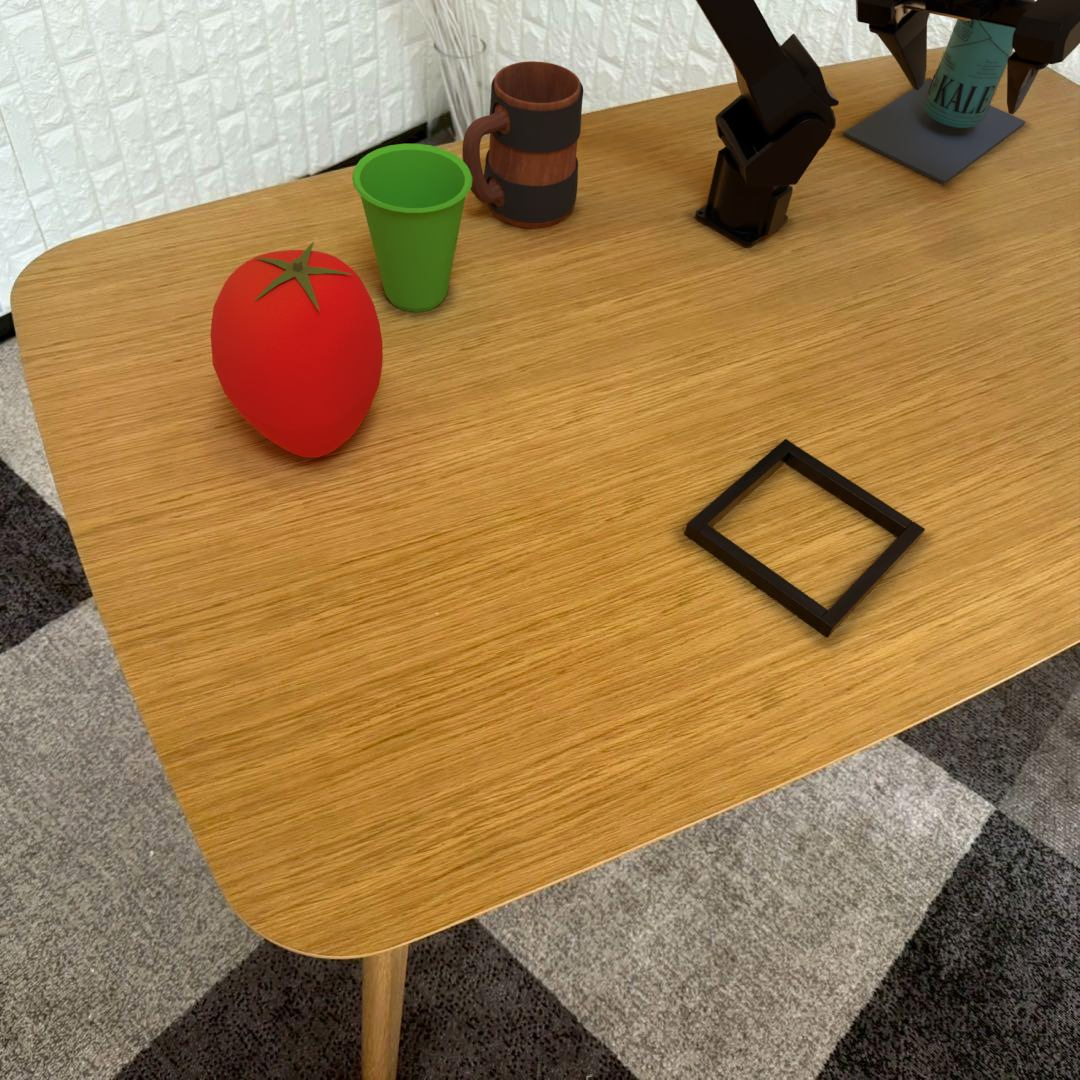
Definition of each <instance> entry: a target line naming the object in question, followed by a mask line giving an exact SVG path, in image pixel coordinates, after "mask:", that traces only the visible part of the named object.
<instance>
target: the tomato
mask: <svg viewBox="0 0 1080 1080" xmlns="http://www.w3.org/2000/svg"><path fill="white" fill-rule="evenodd" d="M314 244H315V241H313V242H312V243H311V244H309V246H307V248H306V249H287V250H286V249H285V250H277V251H270V252H266V253H262V254H258V255H257V256H253V258H251V259H249V260H247V261H245V262H243V263H242V264H241V265H239V266H238V267H237V268H236V269H234V271H233V272H232V273H231V274H230V275H229V276H228V278H227V279H226V280H225V281H224V283H223V286H222V287H221V289H220V292H219V293H218V296H217V298H216V300H215V302H214V305H213V308H212V316H211V323H210V333H209V334H210V335H209V336H210V346H211V347H210V349H211V359H212V367H213V369H214V372H215V374H216V377H217V379H218V381H219V384H220V386H221V388H222V391H223V393H224V395H225V396H226V398H227V399H228V400H229V401H230V403H231V404H232V405H233V407H234V408H235V410H236V411H237V412H238V413H239V414H240V415H241V416H242V418H243V419H244V420H245V421H246V422H248V424H250V425H251V426H252V427H253V428H254V429H255V430H257V432H259V433H260V434H261V435H262V436H263V437H264V438H266V439H267V440H269V441H271V442H272V443H273V444H275V445H277V446H278V447H280V448H281V449H283V450H285V451H286V452H288V453H291V454H293V455H295V456H299V457H303V458H319V457H323V456H326V455H329V454H330V453H332V452H334V451H335V450H336V449H338V448H339V447H341V446H342V445H343V444H345V443H346V442H347V441H348V440H349V439H350V438H351V437H352V436H353V435H354V434H355V433H356V431H357V430H358V429H359V428H360V426H361V424H362V423H363V421H364V418H365V417H366V416H367V414H368V412H369V411H370V409H371V406H372V404H373V402H374V399H375V397H376V394H377V392H378V390H379V386H380V382H381V377H382V372H383V362H384V361H383V359H384V358H383V357H384V356H383V355H384V354H383V347H384V346H383V337H382V329H381V323H380V321H379V317H378V313H377V310H376V307H375V304H374V301H373V298H372V297H371V295H370V293H369V291H368V289H367V288H366V286H365V284H364V282H363V280H362V278H361V277H360V275H359V274H358V273H357V272H356V271H355V270H354V269H353V268H352V266H351V267H350V266H349V265H348V264H347V263H345V262H344V261H343V260H342V259H340V258H339V257H337V256H335V255H333V254H330V253H327V252H323V251H318V250H312V249H313V247H314Z"/></svg>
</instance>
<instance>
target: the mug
mask: <svg viewBox="0 0 1080 1080" xmlns="http://www.w3.org/2000/svg"><path fill="white" fill-rule="evenodd" d="M490 88H491V89H490V106H489V114H488V115H484V116H481V117H478V118H476V119H475V120H474V121H472V122H471V123H470V124H469V126H468V127H467V128H466V130H465V133H464V136H463V140H462V160H463V161H464V163H465V164H466V165H467V166H468V168H469V170H470V172H471V175H472V187H471V188H470V191H471V192H472V194H473V195H474V197H475V198H476V199H477V200H478V201H480V202H483V203H485V204H487V206H488V208H489V209H490V211H491V212H492V213H493V215H494V216H495V217H496V218H498V219H499V220H501V221H503V222H505V223H507V224H509V225H512V226H516V227H519V228H527V229H538V228H546V227H550V226H553V225H555V224H558V223H560V222H561V221H563V220H564V219H565V218H566V217H567V216H568V215H569V213H571V211H573V209H574V208H575V205H576V202H577V194H578V186H579V185H578V184H579V161H578V157H577V151H578V141H579V138H580V136H581V132H582V131H581V130H582V112H583V99H584V85H583V84H582V82H581V80H580V78H579V77H578V75H576V74H575V73H574V72H573V71H572V70H570V69H568V68H566V67H564V66H562V65H560V64H559V65H558V64H555V63H553V62H547V61H536V60H532V61H531V60H530V61H528V60H527V61H521V62H515V63H511V64H509V65H506V66H504V67H503V68H501V69H499V70H498V72H497V73H496V74H495V76H494V78H492V81H491V85H490ZM488 134H489V146H488V150H487V152H486V154H485V161H484V171H483V166H482V162H481V141H482V139H483V137H484V136H486V135H488Z"/></svg>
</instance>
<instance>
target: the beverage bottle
mask: <svg viewBox="0 0 1080 1080" xmlns="http://www.w3.org/2000/svg"><path fill="white" fill-rule="evenodd" d="M1032 1H1036V0H1032ZM953 24H954V26H953V28H952V31H951V33H950V36H949V40H948V42H947V45H946V47H945V49H944V50H943V52H942V55H941V60H940V61H939V63H938V64H937V68H936V70H935V72H934V74H933V77H932V82H933V83H931V85H930V87H929V88H930V89H928V91H929V92H927V93H928V94H927V95H928V96H927V95H926V97H927V99H926V102H925V111H926V113H927V114H928V115H929V116H930V117H931V118H932V119H934V120H936V121H937V122H939V123H942V124H945V125H948V126H952V127H958V128H968V127H973V126H976V125H977V124H979V122H980V121H981V120H982V119H983V117H984V115H985V114H986V112H987V110H989V109H988V107H989V105H990V106H992V103H993V100H994V99H993V98H994V97H995V95H996V92H997V90H998V87H999V86H1000V84H1001V80H1002V78H1003V77H1004V76H1005V73H1006V72H1007V71H1006V69H1007V63H1008V58H1009V57H1010V56H1011V55H1012V54H1013V51H1014V49H1013V47H1012V40H1013V33H1014V31H1015V29H1016V28H1012V27H1008V26H1003V25H998V24H993V23H988V22H983V21H977V20H971V21H965V20H960V19H956V20H954V23H953ZM933 80H934V81H933ZM984 118H985V117H984Z"/></svg>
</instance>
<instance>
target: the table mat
mask: <svg viewBox="0 0 1080 1080" xmlns="http://www.w3.org/2000/svg"><path fill="white" fill-rule="evenodd" d="M932 80H933V78H930V77H929V78H927V79H925V82H924V85H923V86H922V87H921V88H920V89H919V90H915V89H914V88H913V87H912V89H910V90H908V91H907V92H905V93H904V94H902V95H901V96H899V97H898V98H896V99H894V100H893V101H891V102H889V103H888V104H886V105H885V106H883V107H882V108H880V109H878V110H876V111H875V112H874V113H872V114H870V115H869V116H868V117H866V118H864V119H863V120H861V121H860V122H858V123H856V124H854V125H853V126H852V127H850V128H848V129H847V130H845V131H844V132H843V135H842V136H844V137H845V138H848V139H849V140H851V141H854V142H855V143H857V144H859V145H862V146H863V147H865V148H868V149H870V150H872V151H874V152H876V153H878V154H880V155H882V156H883V157H886V158H888V159H890V160H892V161H894V162H896V163H899V164H900V165H902V166H905V167H906V168H909V169H910V170H912V171H915V172H917V173H919V174H921V175H923V176H925V177H927V178H929V179H931V180H933V181H935V182H937V183H939V184H941V185H945V184H947V183H948V182H950V181H951V180H952V179H953V178H955V177H956V176H957V175H958V174H960V173H961V172H963V171H964V170H965V169H967V168H968V167H969V166H971V165H972V164H973V163H975V162H976V161H978V160H979V159H980V158H981V157H983V156H984V155H986V154H987V153H988V152H989V151H991V150H992V149H993V148H995V147H996V146H998V145H999V144H1001V143H1002V142H1003V141H1004V140H1006V139H1007V138H1008V137H1010V136H1011V135H1012V134H1014V133H1016V131H1018V130H1020V129H1021V127H1024V126H1025V124H1026V120H1024V119H1022V118H1019V117H1018V116H1014V114H1009V112H1006V111H1004V110H1001V109H999V108H997V107H994V106H992V105H989V107H988V109H989V110H987V112H986V114H985V115H984V117H985V118H984V117H983V119H982V120H981V121H980V122H979V124H977V125H976V126H973V127H968V128H958V127H952V126H948V125H945V124H942V123H939V122H937V121H936V120H934V119H932V118H931V117H930V116H929V115H928V114H927V113H926V111H925V102H926V99H927V97H926V95H927V94H928V93H927V92H929V91H928V89H930V88H929V87H930V85H931V83H933V82H932ZM933 81H934V80H933ZM927 96H928V95H927Z"/></svg>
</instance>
